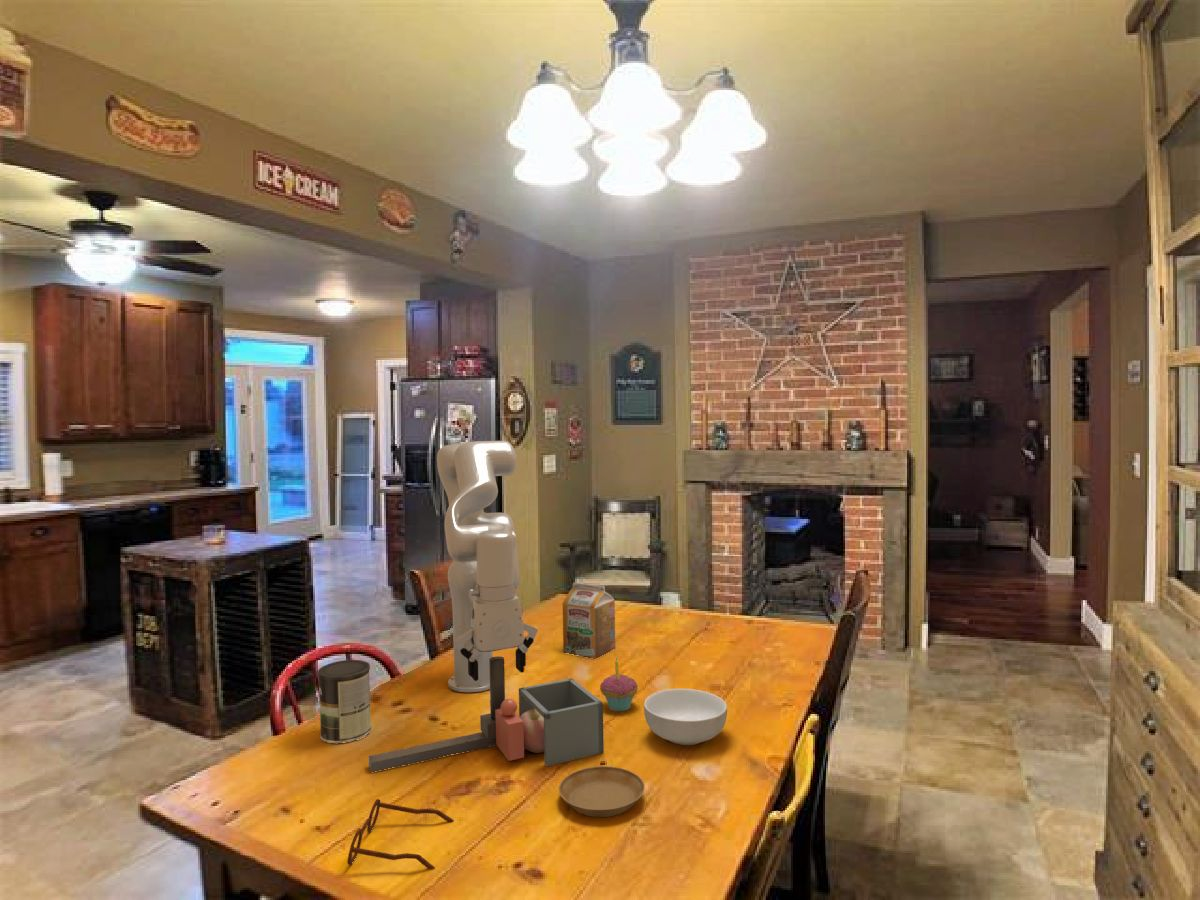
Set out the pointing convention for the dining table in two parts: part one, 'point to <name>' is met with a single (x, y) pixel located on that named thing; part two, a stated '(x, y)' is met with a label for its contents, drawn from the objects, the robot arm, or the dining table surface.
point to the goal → (566, 719)
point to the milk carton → (588, 621)
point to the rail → (429, 751)
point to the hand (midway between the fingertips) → (497, 674)
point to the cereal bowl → (685, 715)
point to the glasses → (368, 822)
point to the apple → (533, 731)
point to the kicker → (502, 715)
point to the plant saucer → (601, 790)
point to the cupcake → (619, 690)
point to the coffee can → (344, 701)
